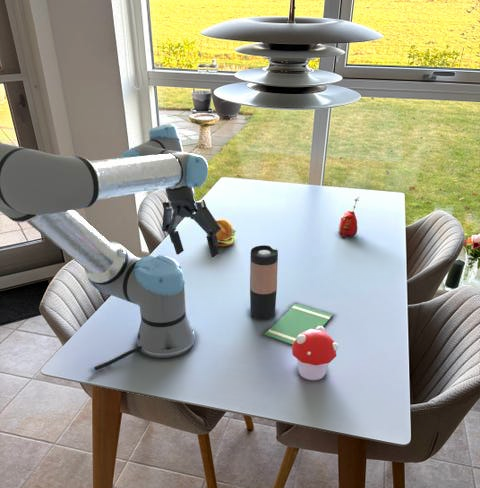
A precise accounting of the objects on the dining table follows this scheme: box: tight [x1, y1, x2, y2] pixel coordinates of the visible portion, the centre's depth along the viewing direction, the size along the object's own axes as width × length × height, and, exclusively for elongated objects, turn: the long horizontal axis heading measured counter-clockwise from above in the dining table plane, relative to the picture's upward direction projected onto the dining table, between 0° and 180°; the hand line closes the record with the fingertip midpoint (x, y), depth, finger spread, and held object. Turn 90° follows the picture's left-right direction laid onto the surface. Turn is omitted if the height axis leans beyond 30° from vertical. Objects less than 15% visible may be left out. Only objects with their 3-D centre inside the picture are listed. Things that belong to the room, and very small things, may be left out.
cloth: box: [264, 303, 334, 346], centre depth 143 cm, size 19×12×1 cm, turn 148°
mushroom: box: [291, 326, 339, 381], centre depth 122 cm, size 11×11×12 cm
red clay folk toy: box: [338, 196, 360, 239], centre depth 190 cm, size 8×7×15 cm
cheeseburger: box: [206, 218, 237, 247], centre depth 187 cm, size 10×11×10 cm
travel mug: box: [249, 244, 279, 321], centre depth 143 cm, size 8×8×20 cm
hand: (197, 254), depth 150 cm, fingers open, 13 cm apart
